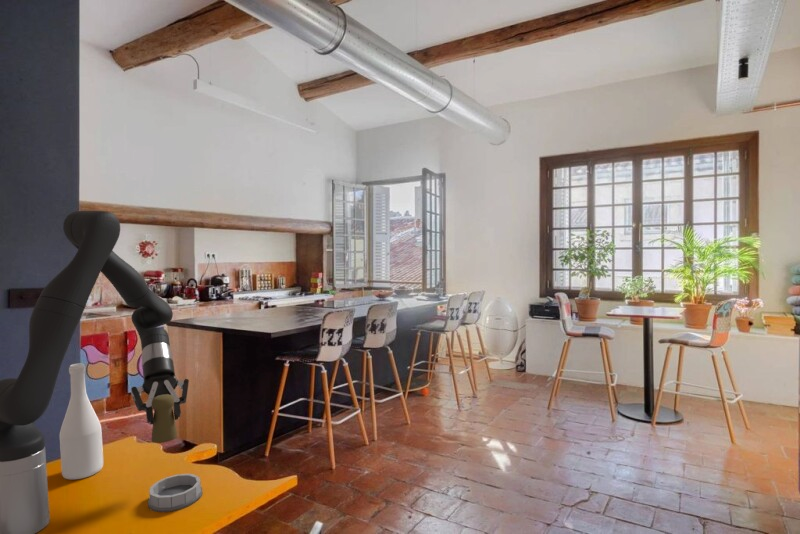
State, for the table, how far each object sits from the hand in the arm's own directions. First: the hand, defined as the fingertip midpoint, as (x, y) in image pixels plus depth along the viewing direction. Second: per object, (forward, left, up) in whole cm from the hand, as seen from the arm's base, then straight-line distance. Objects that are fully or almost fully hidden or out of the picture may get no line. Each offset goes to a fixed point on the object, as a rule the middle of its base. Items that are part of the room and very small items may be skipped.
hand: (164, 420), depth 120 cm
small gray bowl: (+1, -6, -18) cm, 19 cm away
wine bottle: (-19, +23, -18) cm, 35 cm away
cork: (0, +2, -5) cm, 6 cm away
